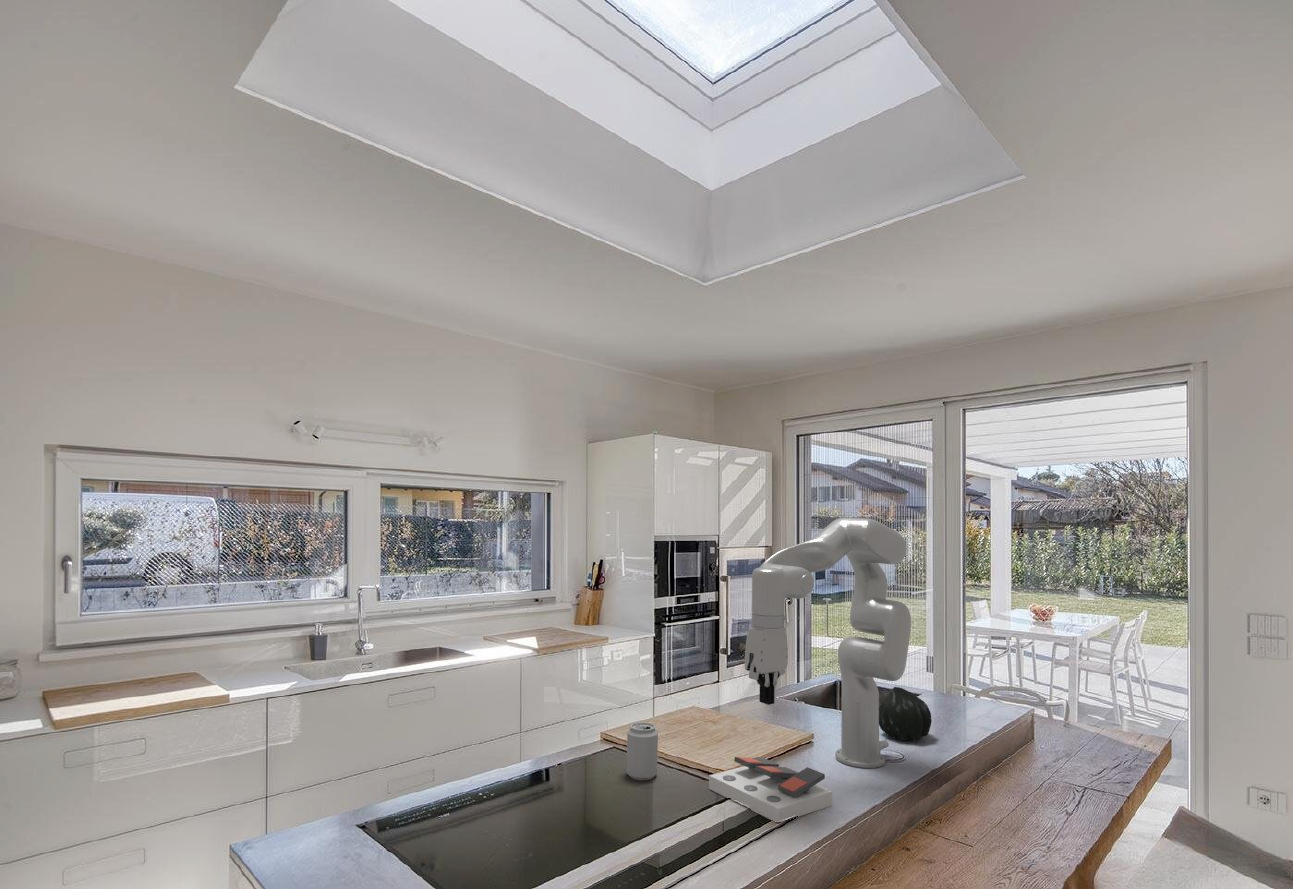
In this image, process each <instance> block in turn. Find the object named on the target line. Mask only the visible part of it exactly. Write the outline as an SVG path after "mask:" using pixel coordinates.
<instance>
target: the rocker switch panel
mask: <svg viewBox="0 0 1293 889" xmlns="http://www.w3.org/2000/svg"><path fill="white" fill-rule="evenodd" d="M787 779H789V778H773V777H769V776H766V775H764V774H762V773H760V772H757V771H755V768H748V767H746V766H744V765H742V766H739V767H737V768H736V767H735V768H733V769H729V770H724V771H722V772H721V771H720V772H718V773H713V774H710V775H708V789H709V790H710V791H713V792H715V793H716V794H719V795H720V796H723V797H725V798H727V799H728V798H731V799H733V800H737V801H739V802H741V803H743V804H746V805H748V806H749V807H750V809H751V811H752V812H754V813H756V814H758V815H761V816H762V817H764V818H766V819H768V820H770V821H772V820H774V821H780V820H782V819H785V818H789V817H792V816H794V815H795V816H798V817H802V816H805V815H807V814H810V813H813V812H817V811H818V810H822V809H825V808H829V807H831V806H832V805H833V799H832V798H833V796H832V795H833V792H832V790H829V789H827V788H824V787H822V786H820V785H817V784H815V785H814V786H812V787H811V788H809V789H808V790H806V791H804V792H803V793H801V794H800V795H798V796H797V797H793V796H791V795H788V794H786V793H784V792H782V791H780V790H778V786H777V785H779V784H781V783H782V782H784V781H786V780H787ZM750 809H749V810H750ZM798 817H797V818H798ZM774 821H773V822H774Z"/></svg>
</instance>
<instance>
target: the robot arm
mask: <svg viewBox="0 0 1293 889" xmlns="http://www.w3.org/2000/svg"><path fill="white" fill-rule="evenodd" d="M906 544H907V543H906V541H905V538H904V537H903V536H902V534H900V533H899V532H898V531H896V530H894V529H892V528H891V527H889V526H887V525H886V524H884V523H883V522H880V521H878V520H876V519H873V518H864V517H863V518H862V517H861V518H860V517H839V518H836V519H834V520H833V521H831V522H830V523H829V524H827V526H825V527H823V529H822V530H820V531H819V532H818V533H816V534H815V535H814V536H813V537H812V538H811V539H809V540H807V541H803V542H800V543H798V544H795V545H792V546H789V547H787V548H784V549H782V550H779V551H778V552H775V553H774V554H773V555H771V556H770V557H769V558H767V559H766V560H765V561H764V562H763V563H762V564H761V565H760V566H759V567H756V568H754V569H753V570H752V573H751V627H748V631H747V635H746V641H745V650H744V651H745V652H744V670H746V671H748V678H749V679H751V680H756V682H757V685H759V703H762V704H765V705H768V706H771V705H774V704H775V686H777V684H778V683H777V682H778V679H779V678H780V677H781V676H784V674H785V673H786V669H787V668H788V664H789V663H788V662H789V651H788V650H789V649H788V648H789V647H788V646H789V645H788V636H787V630H786V627H785V621H786V616H785V605H786V604H785V602H786V601H785V599H796V600H797V599H798V600H799V599H800V600H801V599H804V598H807V597H808V596H809V595H810V594H811V593H812V591H813V589H814V587H815V580H814V576H813V575H812V573H817V572H821V571H826V570H829V569H831V568H832V567H834V566H835V565H836V564H837V563H838V562H839V561H840V560H841V559H842V558H843V557H845V556H846V557H847V559H848V561H849V562H850V566H851V567H852V570H853V573H854V574H853V575H854V584H853V585H854V586H853V587H854V588H853V593H852V599H851V606H850V612H849V613H850V614H849V623H850V626H851V627H852V628H853V629H854V630H856V631H858V632H861V633H865V634H870V635H876V636H881V637H883V638H884V640H878V639H873V638H866V637H862V636H861V637H860V636H849V637H846V638H845V639H843V640H841V642H840V644H839V646H838V648H837V659H838V666H839V670H840V679H841V682H840V683H841V731H840V732H841V736H840V737H841V744H840V746H841V748H839V749H837V750H836V751H835V758H836V760H837V761H839V762H840V763H842V764H844V765H847V766H852V767H854V768H855V767H856V768H863V769H866V768H867V769H874V768H879V767H880V768H881V767H882V766H884V765H885V763H886V757H885V756H884V754H882V753H881V752H882V750H883V749H887V748H888V747H889V744H890V743H889V742H888V740H886V739H884V740H881V741H880V726H879V707H880V693H879V688H878V685H877V684H876V681H875V679H879V680H884V681H889V682H896V681H899V680H900V679H901V678H902V677H903V675H904V672H905V670H906V666H907V660H908V654H909V645H910V638H911V631H912V630H911V629H912V617H911V612H910V610H909V608H908V606H907V605H906V604H905V603H903V602H901V601H900V600H899V601H898V600H892V599H887V591H888V590H887V589H888V579H887V576H886V573H885V572H884V569H883V568H882V567H881V565H880V564H882V565H883V564H884V565H885V564H886V565H896V564H899V563H901V562H902V561H903V560H904V559H905V558H906V554H907V545H906Z"/></svg>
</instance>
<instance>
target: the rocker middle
mask: <svg viewBox="0 0 1293 889" xmlns="http://www.w3.org/2000/svg"><path fill="white" fill-rule="evenodd" d="M755 771H757V772H760V773H762V774H764V775H766V776H769V777H773V778H791V777H792V776H794V775H795V774H797V773H799V772H800V771H796V770H794V769H792V768H789V767H787V766H779V767H771V766H756V768H755Z"/></svg>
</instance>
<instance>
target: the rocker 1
mask: <svg viewBox="0 0 1293 889" xmlns="http://www.w3.org/2000/svg"><path fill="white" fill-rule="evenodd" d="M733 762H734V763H737V764H739V765H741V766H746V767H748V768H756V766H771V767H780V764H779V763H777V762H774V761H772V760H769V759H767V758H765V757H747V756H746V757H745V756H735V757H734V761H733Z"/></svg>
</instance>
